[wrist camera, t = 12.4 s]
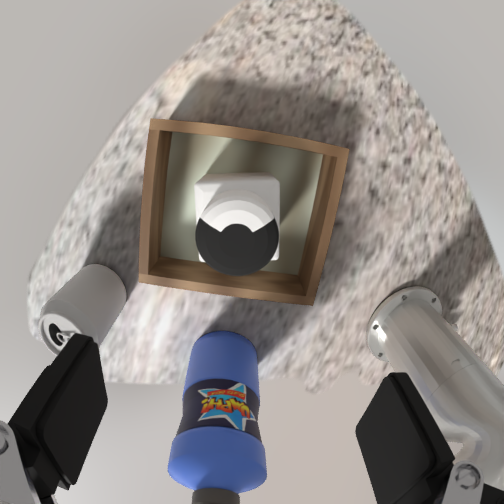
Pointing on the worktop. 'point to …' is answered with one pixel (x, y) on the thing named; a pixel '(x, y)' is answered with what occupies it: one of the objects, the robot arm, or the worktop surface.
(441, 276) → the worktop surface
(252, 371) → the water bottle
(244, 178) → the medicine bottle
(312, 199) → the crate
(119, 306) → the can
